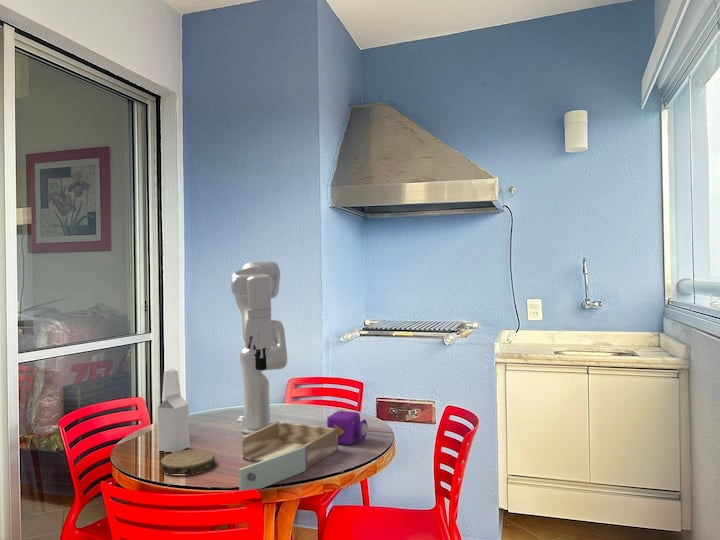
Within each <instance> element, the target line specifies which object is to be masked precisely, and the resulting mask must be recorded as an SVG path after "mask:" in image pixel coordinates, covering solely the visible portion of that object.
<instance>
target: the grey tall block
mask: <svg viewBox="0 0 720 540" xmlns="http://www.w3.org/2000/svg"><path fill="white" fill-rule="evenodd" d="M180 386H181V385H180V378H179V372H178V369H177V368H168V369H167V368H166V369H164V371H163V380H162V395H161V396H162V398H161V401H162V403H163V402H164V399H165V398H166V396H168V395H171V394H173V393H176V392H180V395H181V396H182V394H181V387H180Z"/></svg>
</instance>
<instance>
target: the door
mask: <svg viewBox="0 0 720 540" xmlns="http://www.w3.org/2000/svg"><path fill="white" fill-rule="evenodd" d="M306 471H307V472H308V469H307V446H303V447H300V448H297V449H295V450H292V451H289V452H286V453H283V454H280V455H277V456H275V457H272V458H269V459H266V460H263V461H260V462H258V461H257V462H255V463H252V464H250V465H247V466H246V465H245V466H244V467H241V468H238V488H239V489H238V491H242V490H249V489H259V490H261V489H263V488H266V487H269V486H271V485H274V484H276V483H277V484H278V483H279V482H283V481H284V480H286V479H290V478H292V477H294V476H297V475H299V474H301V473H304V472H306Z"/></svg>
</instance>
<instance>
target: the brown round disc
mask: <svg viewBox="0 0 720 540" xmlns="http://www.w3.org/2000/svg"><path fill="white" fill-rule="evenodd" d="M215 458H216V457H215V452H214V451H212V450H209V449H206V448H205V449H204V448H193V449H192V448H191V449H185V450H183V451H178V452H174V453H169V454H166V455H164V457H163V458H162V459H161V461H160V470H161V469H162V471H163V472H165V473H168V474H192V473H196V474H198V473H197V472H201V471H203V472H205V471H204V470H206V471H208V470H210V469H211V467H212V466H213V465H214V464H216V462H215V461H216V460H215ZM214 466H215V465H214ZM214 466H213V467H214ZM213 467H212V468H213ZM209 468H210V469H209ZM207 469H208V470H207ZM162 471H161V472H162ZM163 472H162V473H163ZM201 473H202V472H201ZM192 475H193V474H192Z"/></svg>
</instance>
